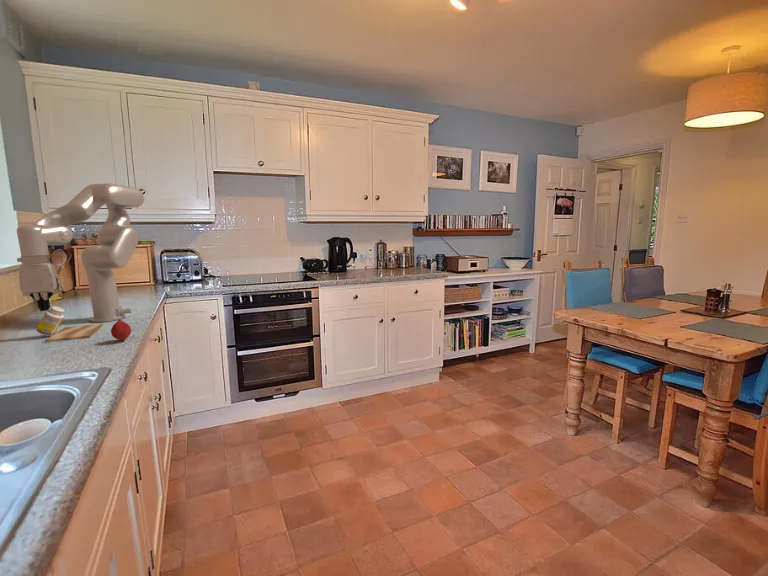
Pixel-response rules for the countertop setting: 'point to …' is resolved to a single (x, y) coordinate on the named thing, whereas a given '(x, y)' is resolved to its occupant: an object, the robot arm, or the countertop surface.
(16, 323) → the countertop surface
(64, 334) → the wooden cutting board
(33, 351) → the countertop surface
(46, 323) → the supplement bottle
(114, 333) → the onion
